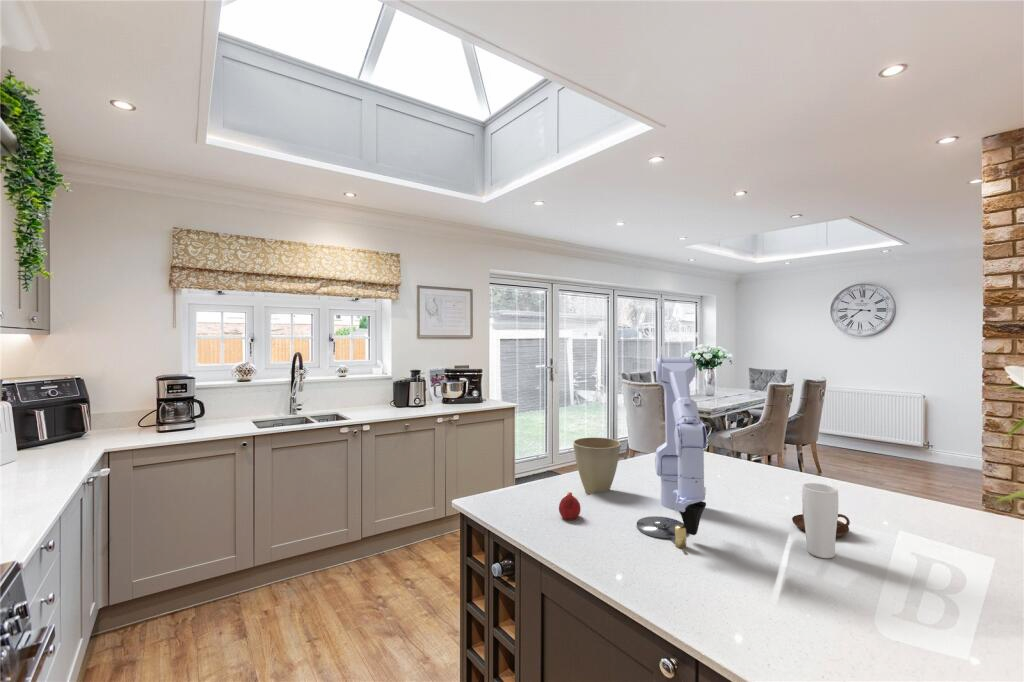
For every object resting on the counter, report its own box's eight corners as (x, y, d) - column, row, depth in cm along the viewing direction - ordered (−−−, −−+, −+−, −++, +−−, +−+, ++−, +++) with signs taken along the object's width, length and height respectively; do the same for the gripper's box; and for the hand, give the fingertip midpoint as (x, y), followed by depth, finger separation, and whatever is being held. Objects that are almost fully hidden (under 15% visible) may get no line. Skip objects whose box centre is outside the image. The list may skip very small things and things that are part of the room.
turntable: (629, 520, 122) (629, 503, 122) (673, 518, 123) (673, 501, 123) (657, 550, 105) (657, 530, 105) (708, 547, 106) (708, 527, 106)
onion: (580, 527, 121) (579, 496, 121) (557, 525, 122) (557, 495, 122) (581, 518, 127) (580, 489, 127) (560, 517, 128) (559, 488, 128)
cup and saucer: (843, 525, 120) (842, 501, 120) (854, 544, 110) (854, 518, 110) (789, 518, 126) (789, 495, 125) (795, 536, 115) (795, 511, 115)
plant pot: (565, 494, 147) (564, 444, 147) (586, 482, 159) (585, 435, 159) (610, 503, 138) (609, 449, 138) (628, 489, 150) (627, 440, 150)
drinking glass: (833, 549, 107) (832, 484, 107) (843, 563, 100) (842, 493, 100) (799, 545, 109) (798, 481, 109) (807, 558, 103) (806, 490, 102)
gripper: (684, 465, 117) (685, 519, 117) (661, 479, 106) (662, 539, 106) (714, 470, 112) (714, 526, 112) (693, 485, 101) (693, 547, 101)
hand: (691, 533), depth 109 cm, fingers closed
